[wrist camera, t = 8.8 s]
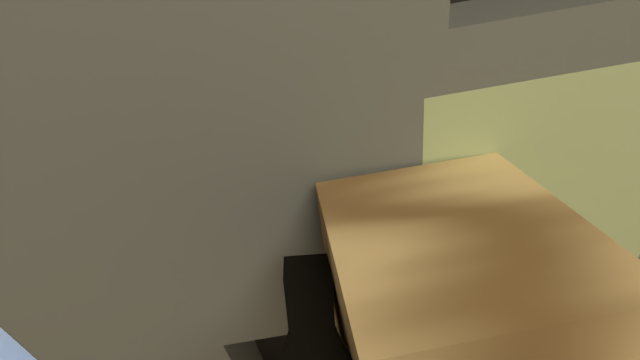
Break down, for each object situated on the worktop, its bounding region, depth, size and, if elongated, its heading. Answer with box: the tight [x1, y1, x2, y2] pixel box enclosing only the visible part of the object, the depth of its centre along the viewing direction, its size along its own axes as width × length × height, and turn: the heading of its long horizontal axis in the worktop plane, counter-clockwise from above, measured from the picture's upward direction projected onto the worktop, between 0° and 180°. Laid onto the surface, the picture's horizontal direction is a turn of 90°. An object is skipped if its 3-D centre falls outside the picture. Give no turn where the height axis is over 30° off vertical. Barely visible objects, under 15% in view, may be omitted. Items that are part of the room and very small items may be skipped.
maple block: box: [315, 152, 640, 360], centre depth 8 cm, size 5×5×5 cm
